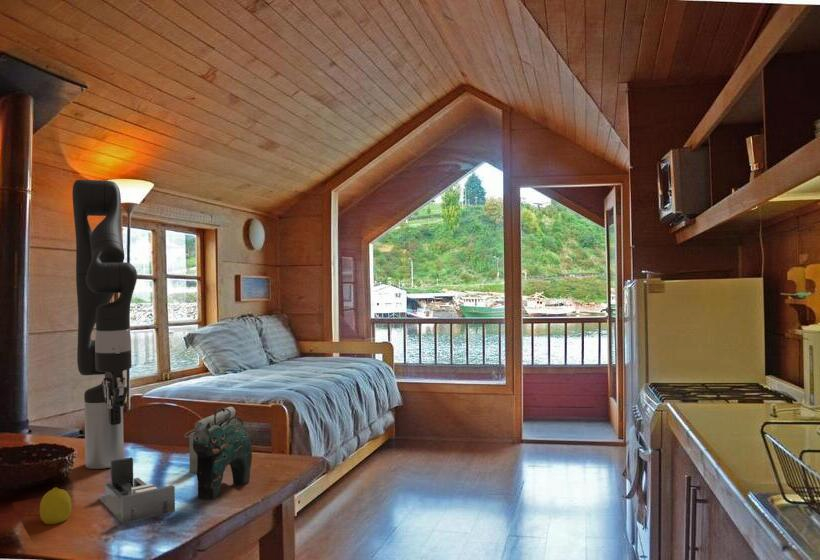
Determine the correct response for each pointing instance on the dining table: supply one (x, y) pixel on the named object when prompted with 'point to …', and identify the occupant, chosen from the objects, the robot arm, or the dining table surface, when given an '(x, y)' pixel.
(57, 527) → the dining table surface
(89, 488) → the dining table surface
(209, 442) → the green animal figurine
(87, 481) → the dining table surface
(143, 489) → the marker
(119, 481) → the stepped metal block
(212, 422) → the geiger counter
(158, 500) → the grey open box
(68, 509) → the lemon
